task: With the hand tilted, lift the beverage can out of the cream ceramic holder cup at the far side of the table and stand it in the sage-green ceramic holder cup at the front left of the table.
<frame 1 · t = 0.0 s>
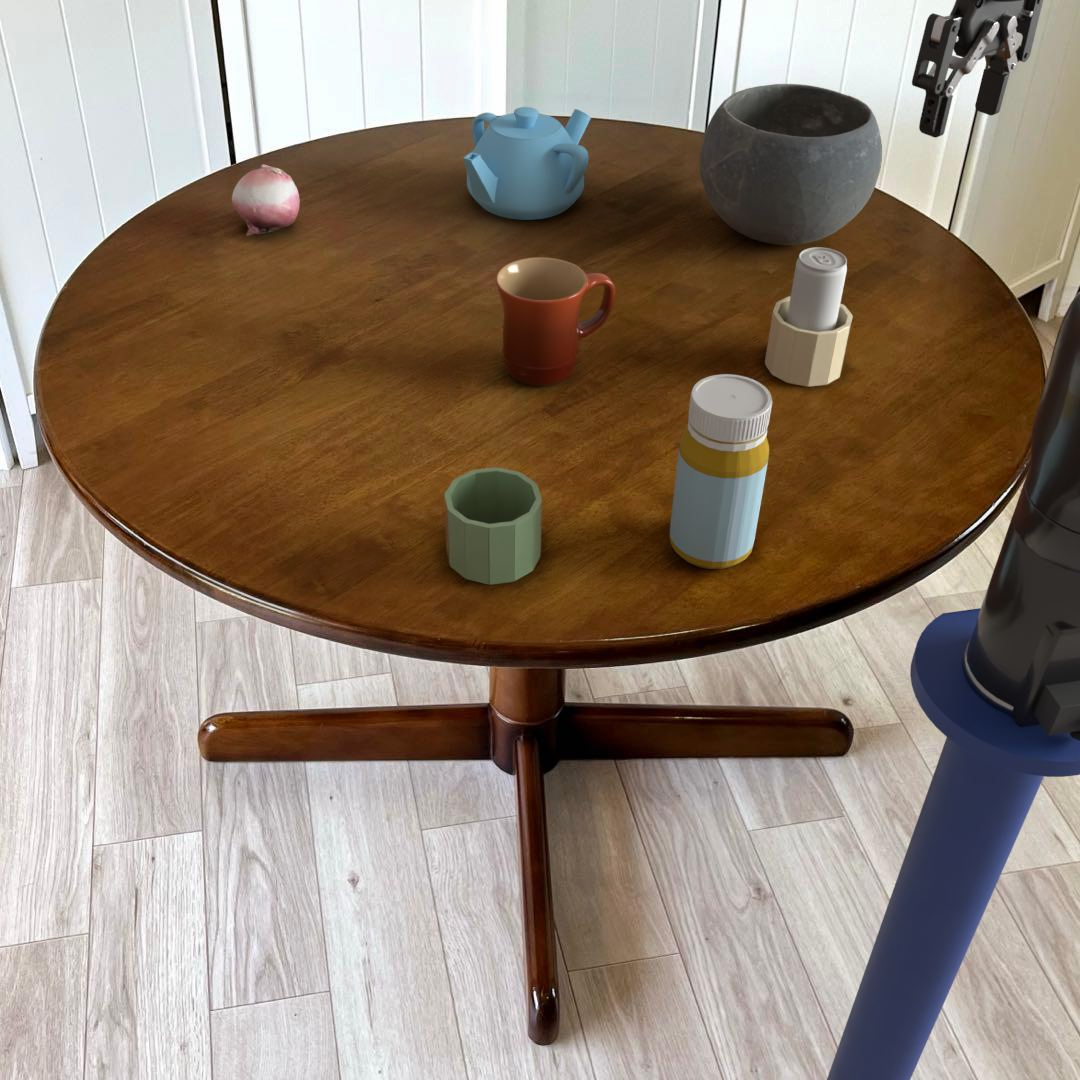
hand: (959, 123, 112), 24 cm above the table, tool pointing down, fingers open, 8 cm apart
mug: (554, 369, 124), on the table
bowl: (778, 233, 148), on the table
teapot: (528, 199, 154), on the table
holder a: (803, 365, 125), on the table
bottle: (710, 547, 104), on the table
holder b: (493, 553, 102), on the table
onion: (269, 229, 147), on the table
beverage can: (803, 367, 125), resting in holder a
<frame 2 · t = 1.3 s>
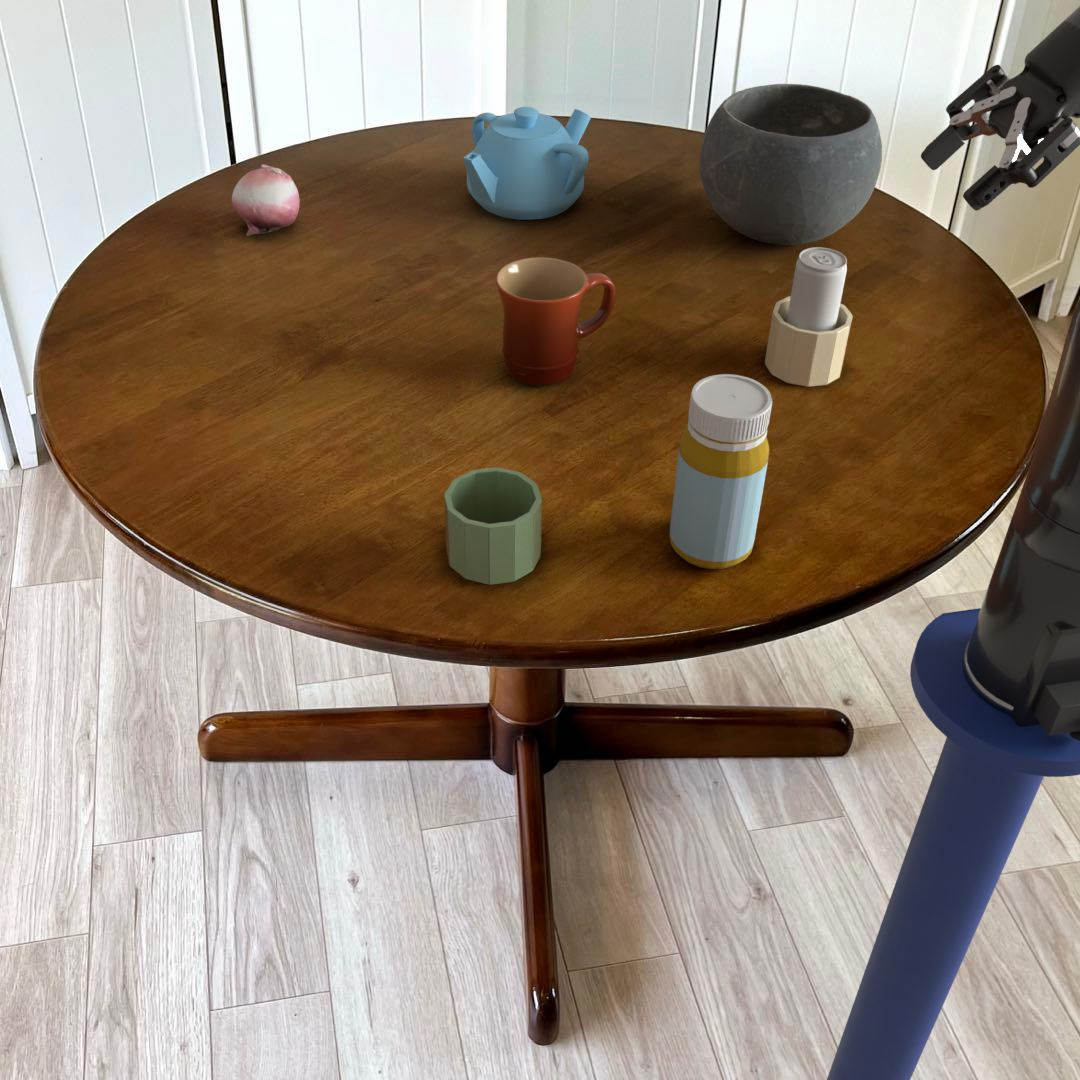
hand: (947, 183, 115), 19 cm above the table, tool tilted 45°, fingers open, 8 cm apart
nothing on the table moved.
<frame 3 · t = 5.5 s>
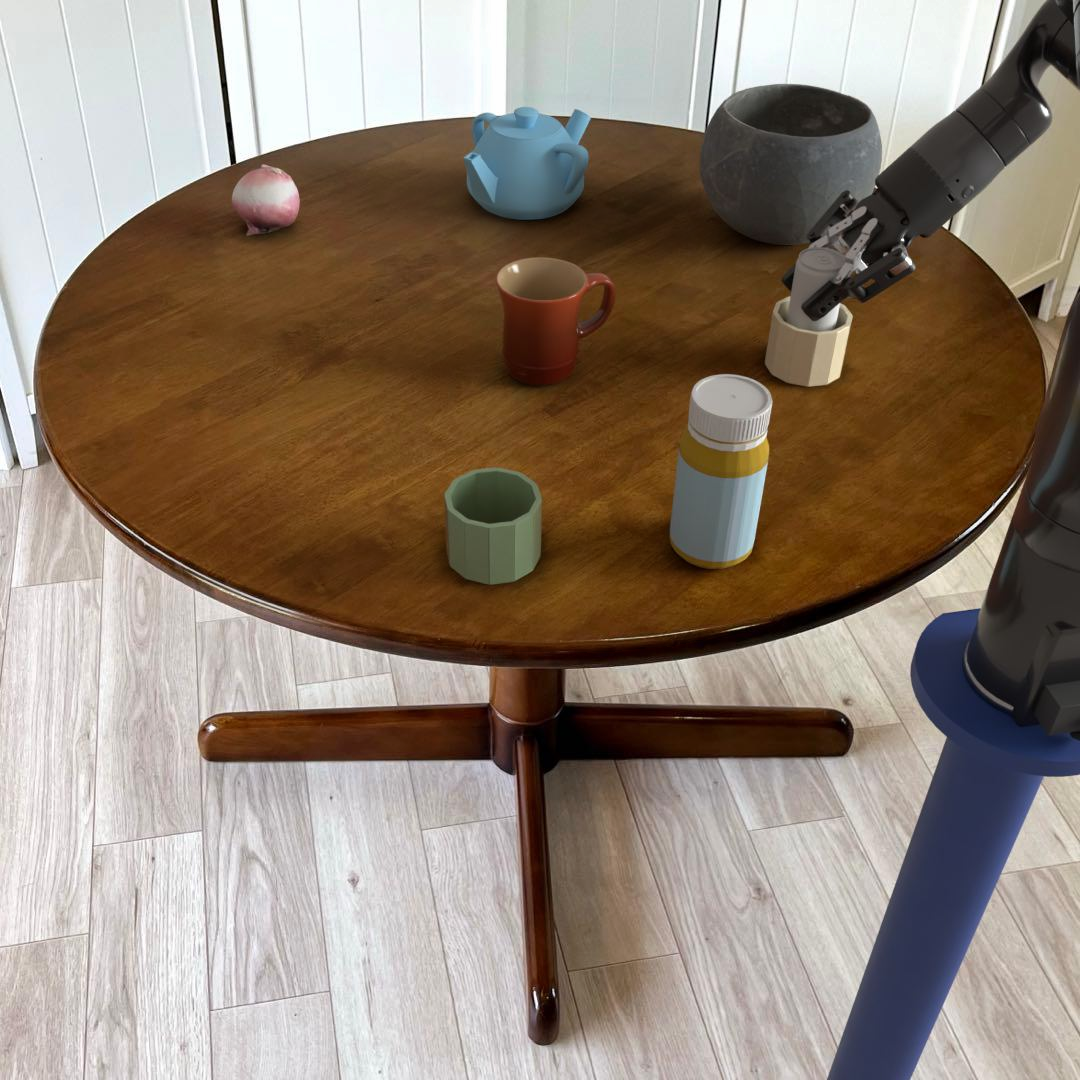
hand: (797, 300, 120), 8 cm above the table, tool tilted 45°, fingers closed on beverage can, 5 cm apart
beverage can: (803, 367, 125), resting in holder a, touching gripper
everything else where it was.
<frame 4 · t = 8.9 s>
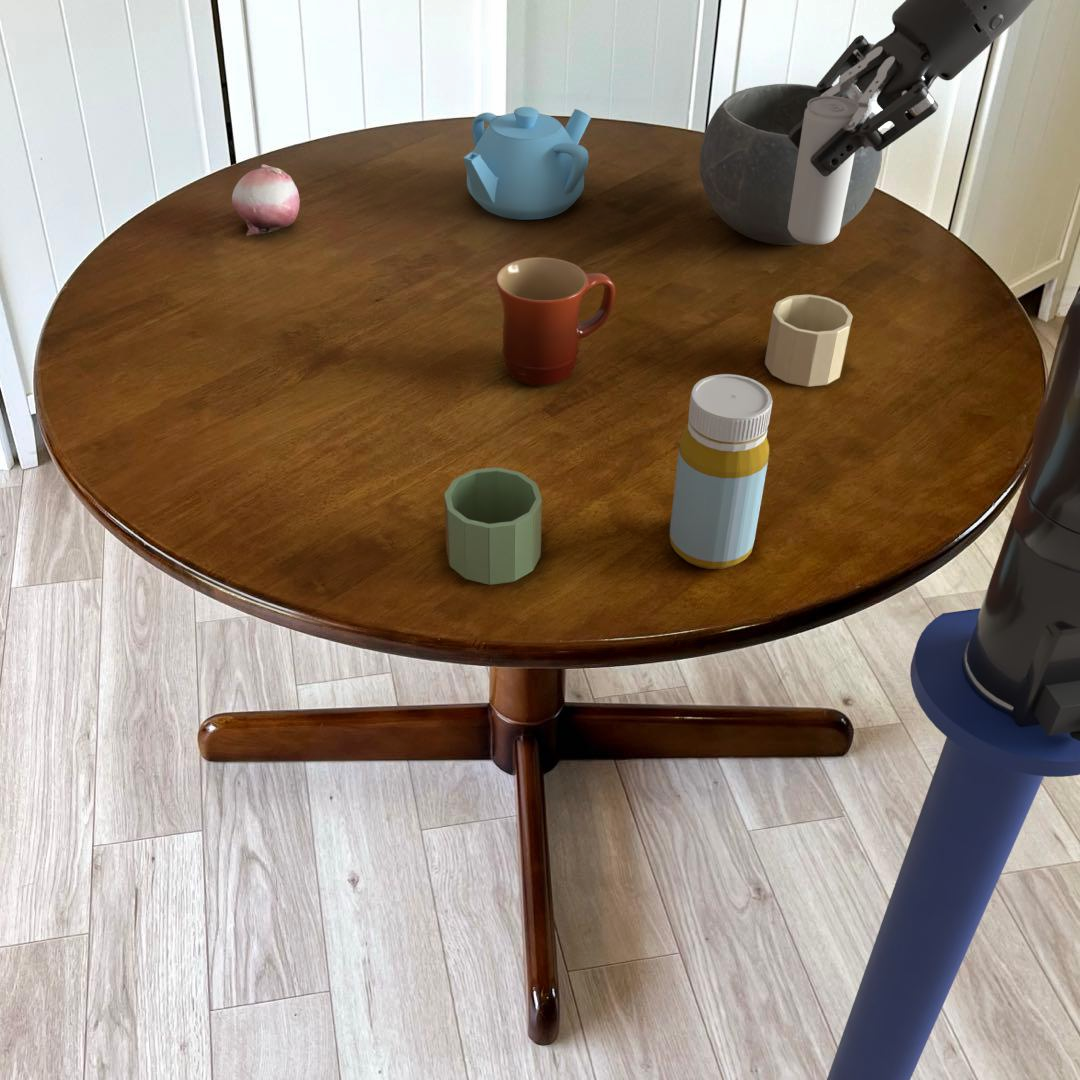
hand: (806, 156, 108), 23 cm above the table, tool tilted 45°, fingers closed on beverage can, 5 cm apart
beverage can: (812, 236, 114), point 15 cm above the table, touching gripper
everything else where it was.
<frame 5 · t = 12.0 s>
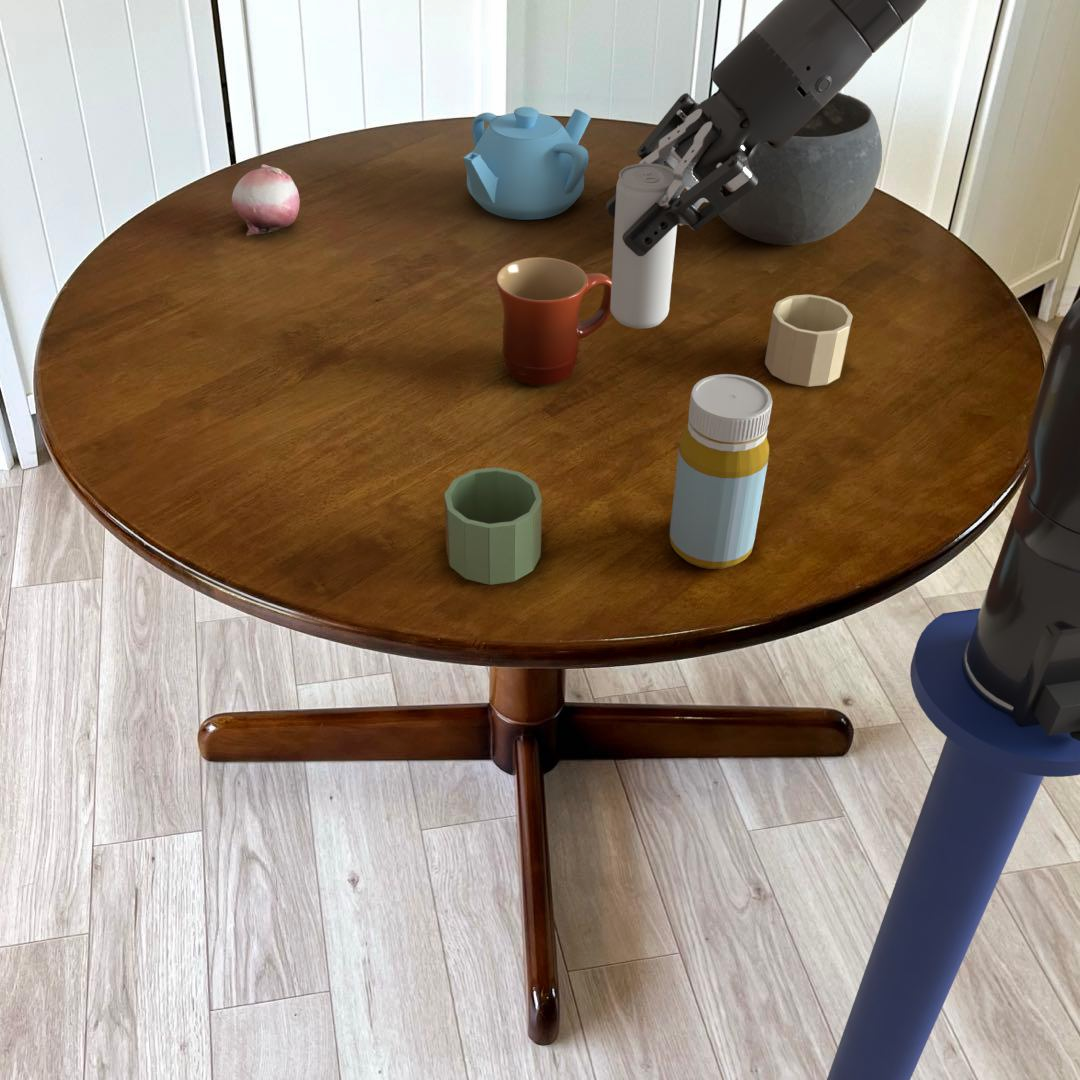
hand: (622, 231, 95), 24 cm above the table, tool tilted 45°, fingers closed on beverage can, 5 cm apart
beverage can: (639, 318, 101), point 16 cm above the table, touching gripper
everything else where it was.
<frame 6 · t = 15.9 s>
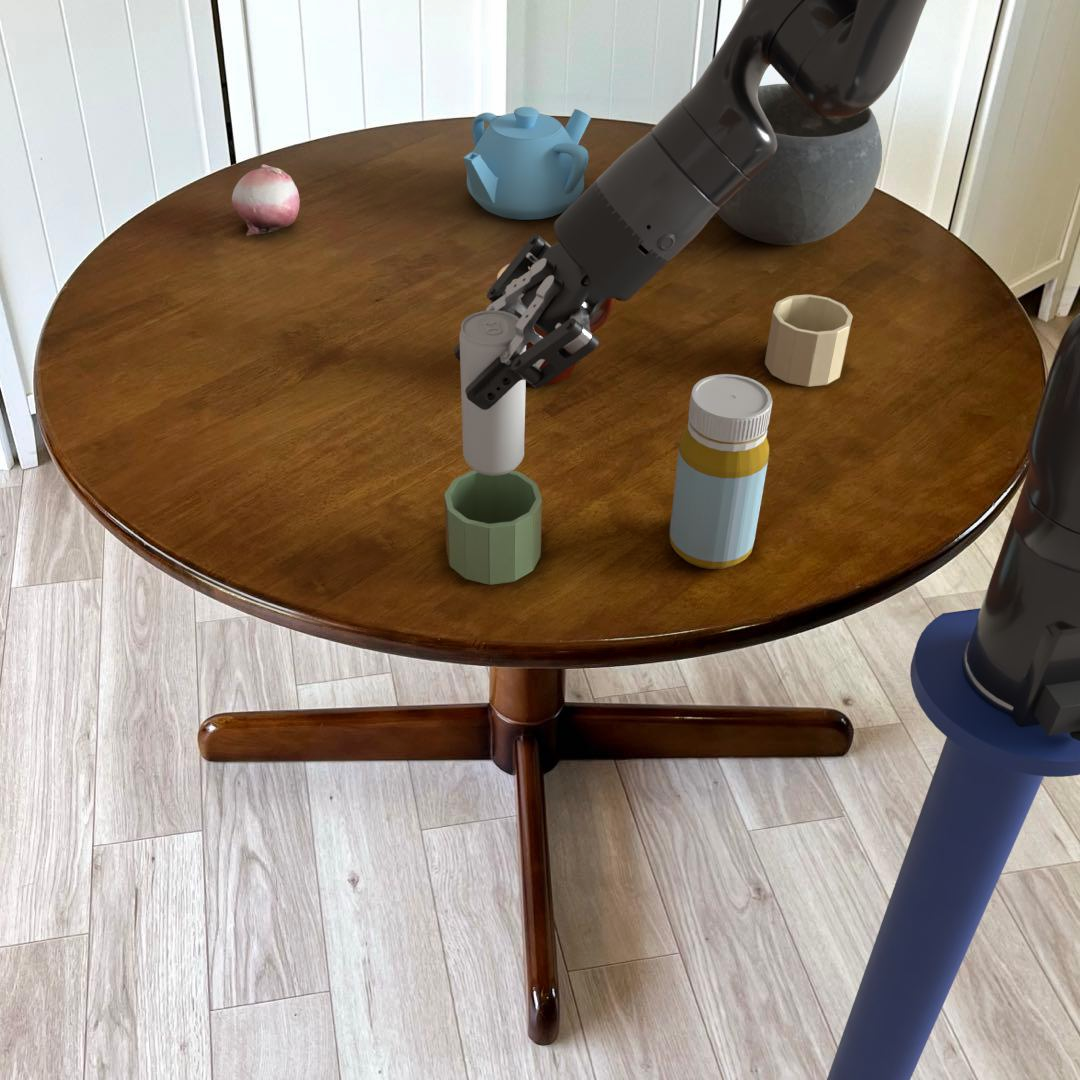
hand: (469, 380, 91), 17 cm above the table, tool tilted 45°, fingers closed on beverage can, 5 cm apart
beverage can: (494, 462, 96), point 9 cm above the table, touching gripper
everything else where it was.
when the fingers open (8 cm above the table, at t = 18.9 s): beverage can stays where it is, resting in holder b.
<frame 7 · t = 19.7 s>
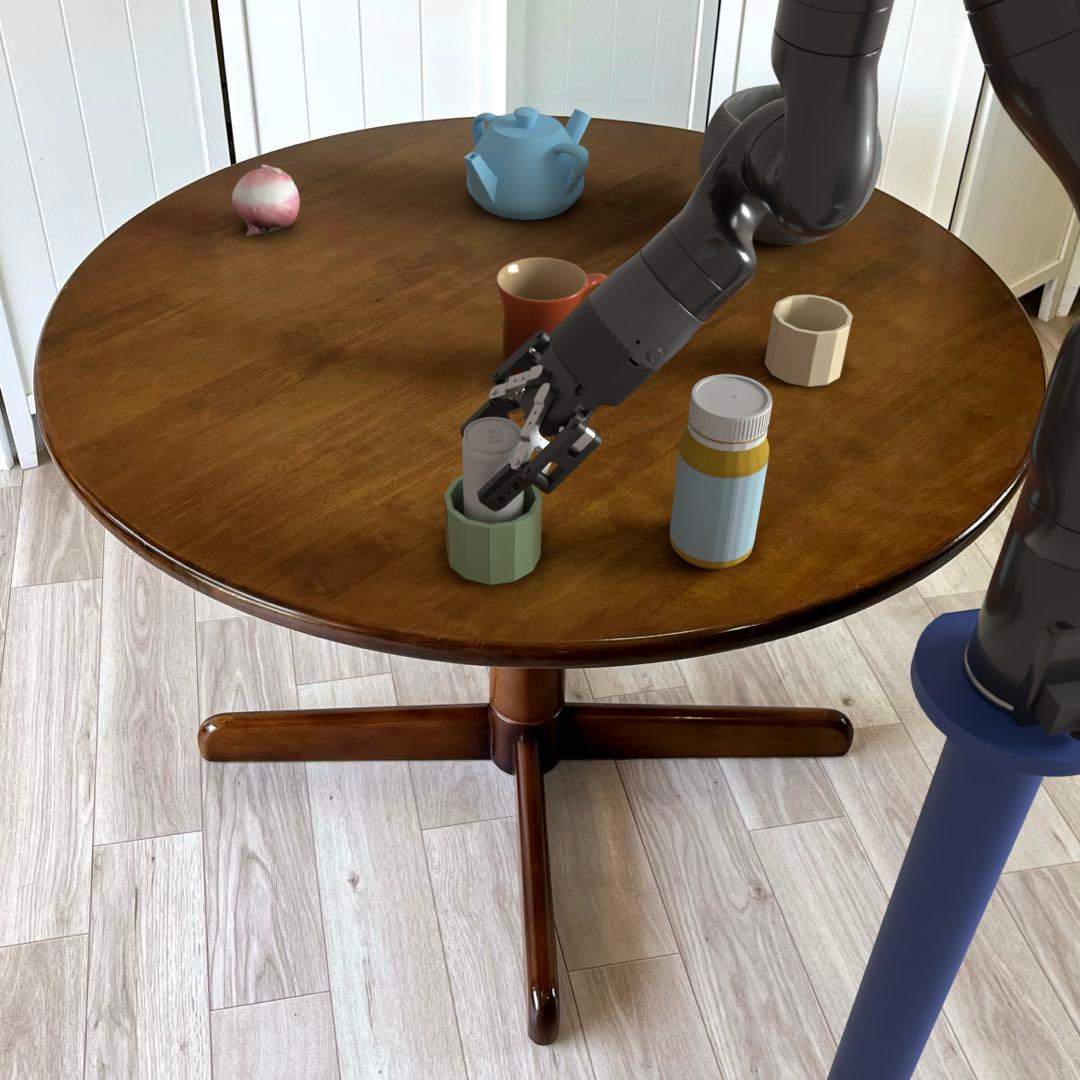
hand: (476, 470, 96), 9 cm above the table, tool tilted 45°, fingers open, 8 cm apart
beverage can: (493, 553, 102), resting in holder b
everything else where it was.
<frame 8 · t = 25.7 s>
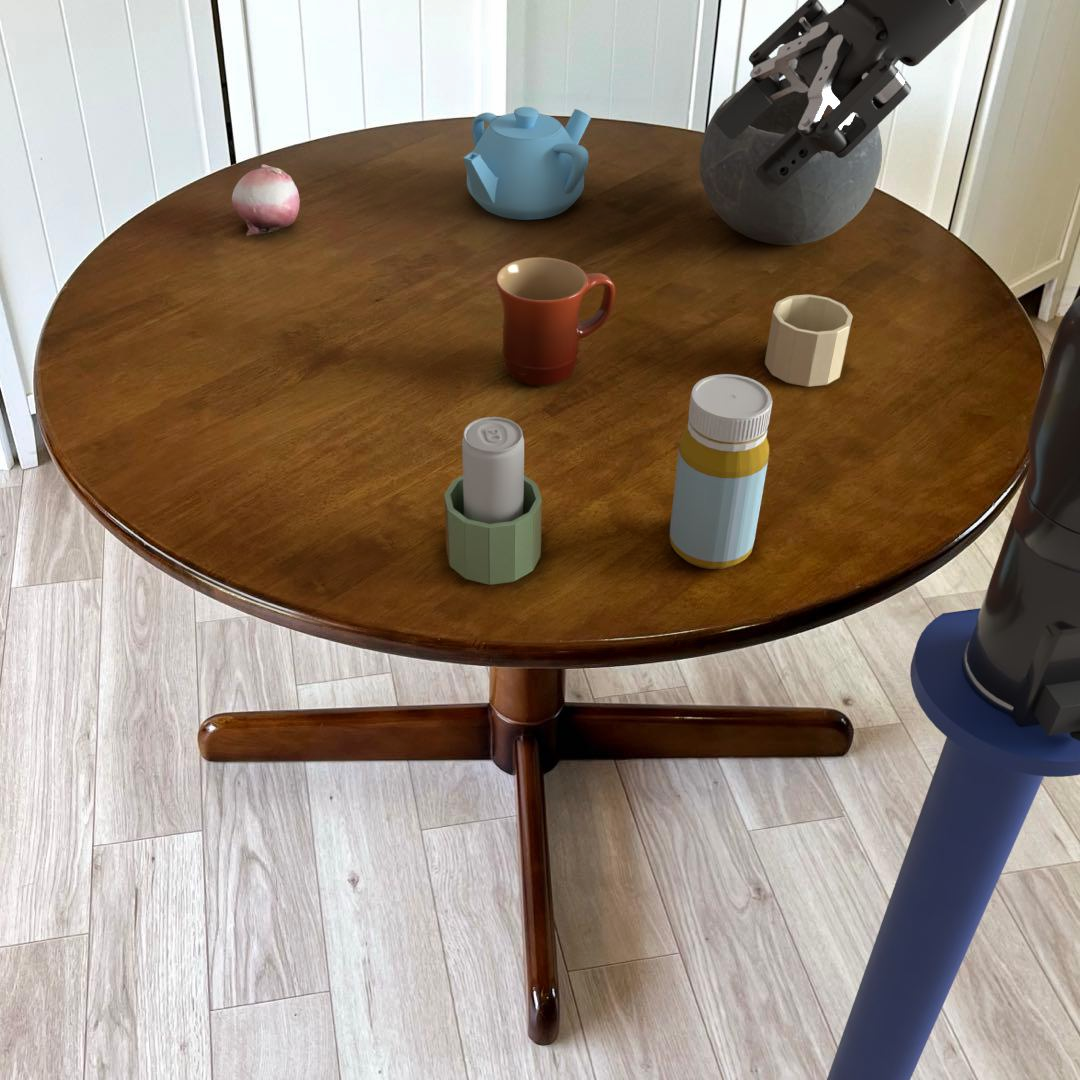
hand: (740, 154, 85), 33 cm above the table, tool tilted 45°, fingers open, 8 cm apart
nothing on the table moved.
at the end: beverage can 0.2 cm off-centre on the holder b, point 0.0 cm above the holder b's base; beverage can tilted 0°; the gripper is holding nothing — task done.
